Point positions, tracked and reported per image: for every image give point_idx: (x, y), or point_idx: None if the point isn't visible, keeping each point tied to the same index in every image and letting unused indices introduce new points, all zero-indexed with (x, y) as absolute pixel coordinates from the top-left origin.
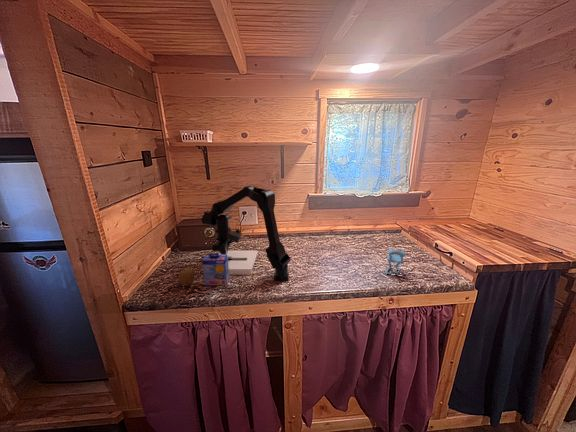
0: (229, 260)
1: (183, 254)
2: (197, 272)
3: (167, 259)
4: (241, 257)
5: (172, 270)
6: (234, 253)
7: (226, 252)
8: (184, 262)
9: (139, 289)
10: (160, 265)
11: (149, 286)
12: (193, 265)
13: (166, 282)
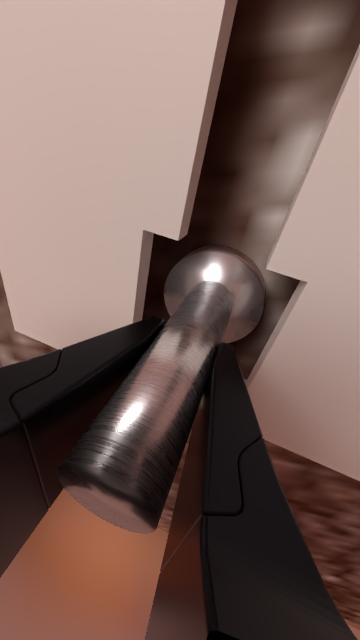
0: (188, 259)
1: None
2: (287, 472)
3: None
4: (214, 9)
5: None
6: (57, 191)
7: (186, 374)
8: None
9: None
10: (157, 526)
11: (334, 599)
12: (182, 461)
13: (333, 570)
